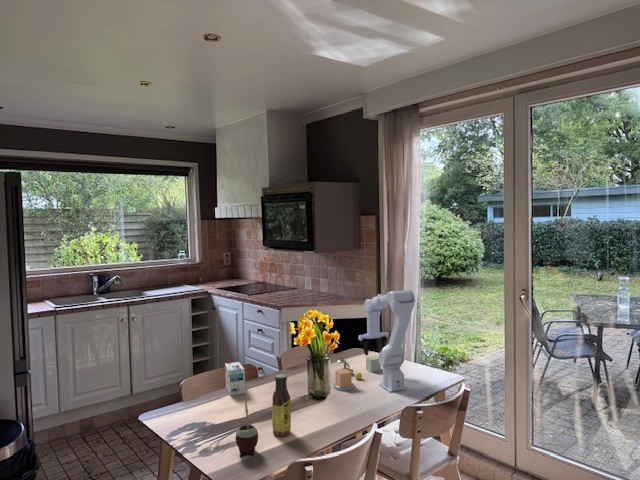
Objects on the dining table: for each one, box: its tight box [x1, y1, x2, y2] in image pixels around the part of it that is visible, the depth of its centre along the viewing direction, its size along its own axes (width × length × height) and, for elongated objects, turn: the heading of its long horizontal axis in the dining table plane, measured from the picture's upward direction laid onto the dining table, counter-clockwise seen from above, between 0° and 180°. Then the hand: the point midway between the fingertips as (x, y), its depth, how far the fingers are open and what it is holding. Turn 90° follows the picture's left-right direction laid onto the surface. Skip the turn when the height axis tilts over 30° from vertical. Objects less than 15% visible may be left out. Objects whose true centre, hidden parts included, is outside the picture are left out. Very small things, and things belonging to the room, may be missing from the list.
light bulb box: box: [224, 361, 246, 396], centre depth 199 cm, size 11×7×11 cm, turn 22°
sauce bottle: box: [271, 373, 292, 437], centre depth 159 cm, size 6×6×20 cm
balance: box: [336, 356, 354, 373], centre depth 221 cm, size 13×4×6 cm, turn 22°
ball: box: [354, 371, 363, 380], centre depth 210 cm, size 3×3×3 cm
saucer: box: [332, 382, 355, 392], centre depth 201 cm, size 9×9×1 cm
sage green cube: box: [365, 355, 382, 373], centre depth 222 cm, size 5×5×6 cm
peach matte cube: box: [334, 368, 352, 388], centre depth 201 cm, size 5×5×6 cm
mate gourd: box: [235, 399, 259, 458], centre depth 147 cm, size 8×8×15 cm
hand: (373, 353), depth 215 cm, fingers open, 7 cm apart
